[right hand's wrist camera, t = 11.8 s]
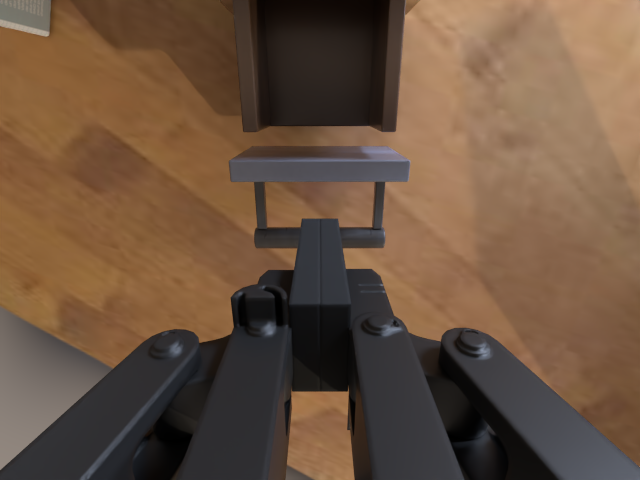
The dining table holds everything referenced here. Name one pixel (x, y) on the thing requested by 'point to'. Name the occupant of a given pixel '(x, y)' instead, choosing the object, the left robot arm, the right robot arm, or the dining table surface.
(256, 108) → the drawer
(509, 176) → the dining table surface
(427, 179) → the dining table surface
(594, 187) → the dining table surface
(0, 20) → the hard drive box
